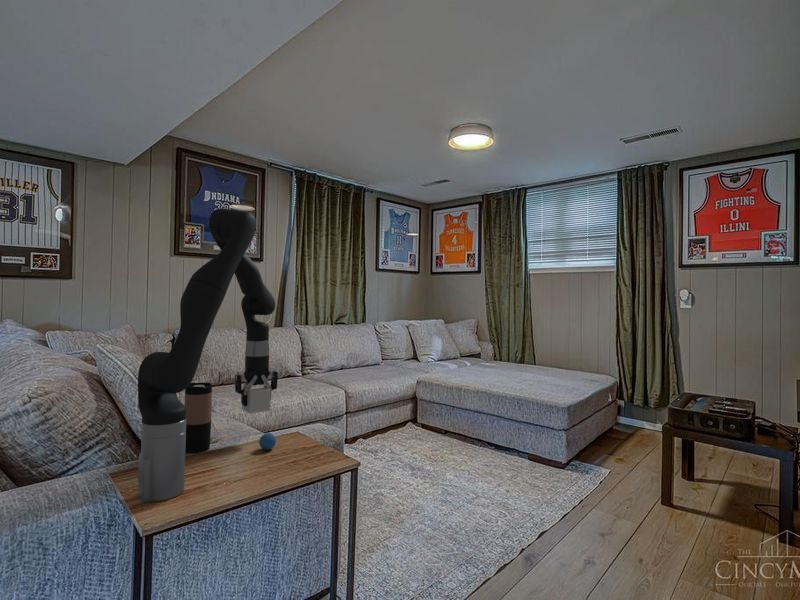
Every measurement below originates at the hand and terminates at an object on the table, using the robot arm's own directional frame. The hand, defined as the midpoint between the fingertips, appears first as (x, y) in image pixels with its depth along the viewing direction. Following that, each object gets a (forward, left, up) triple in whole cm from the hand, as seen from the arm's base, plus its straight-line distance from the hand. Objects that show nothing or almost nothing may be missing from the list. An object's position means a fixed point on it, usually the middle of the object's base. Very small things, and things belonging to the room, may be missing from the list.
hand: (256, 404), depth 139 cm
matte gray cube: (0, 0, -2) cm, 2 cm away
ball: (0, -10, -10) cm, 14 cm away
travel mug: (-17, +3, -12) cm, 21 cm away
